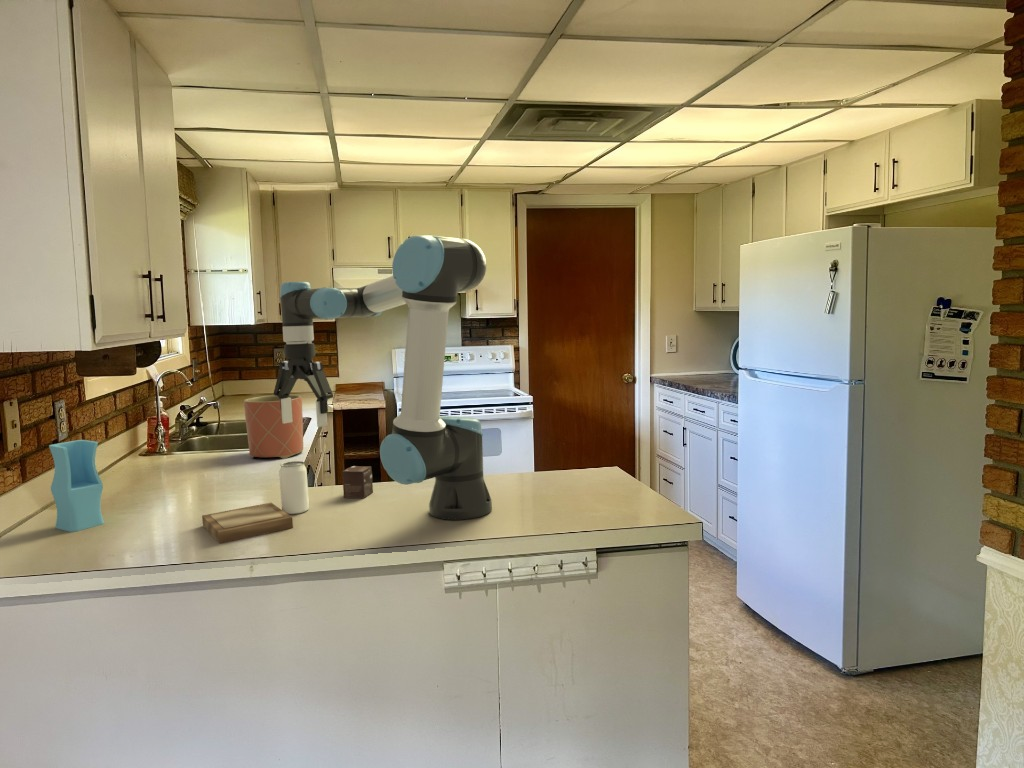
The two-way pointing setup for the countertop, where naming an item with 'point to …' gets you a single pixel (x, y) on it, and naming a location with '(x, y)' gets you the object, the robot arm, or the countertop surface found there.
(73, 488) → the vase
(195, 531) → the countertop surface
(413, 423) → the robot arm
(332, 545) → the countertop surface
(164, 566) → the countertop surface
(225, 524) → the board
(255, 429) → the planter
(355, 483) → the box
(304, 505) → the can
